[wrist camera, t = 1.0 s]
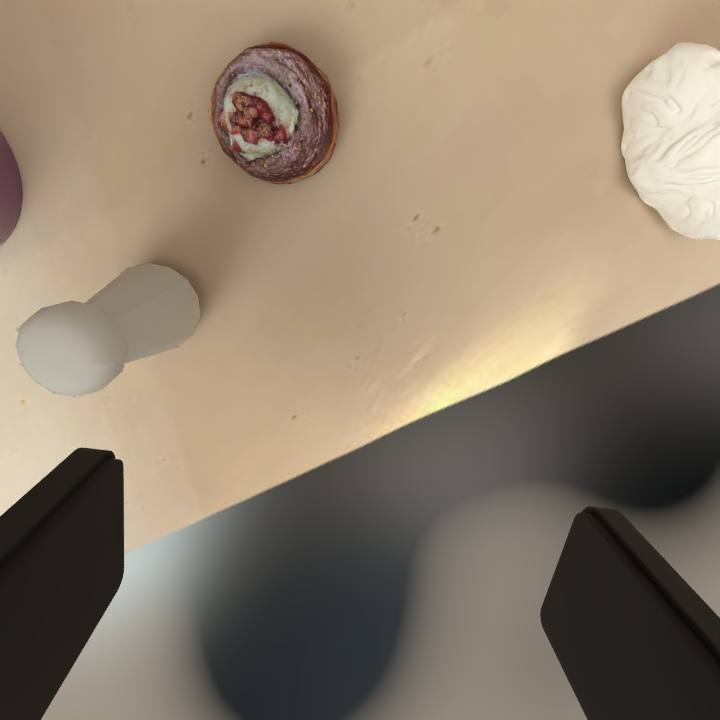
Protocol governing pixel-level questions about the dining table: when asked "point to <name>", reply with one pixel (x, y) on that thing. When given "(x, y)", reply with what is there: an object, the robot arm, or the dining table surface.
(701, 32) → the dining table surface
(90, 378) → the salt shaker
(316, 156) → the pastry
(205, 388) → the dining table surface
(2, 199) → the jar
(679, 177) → the bust
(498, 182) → the dining table surface
